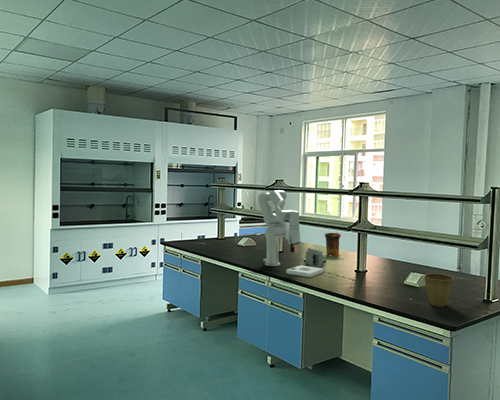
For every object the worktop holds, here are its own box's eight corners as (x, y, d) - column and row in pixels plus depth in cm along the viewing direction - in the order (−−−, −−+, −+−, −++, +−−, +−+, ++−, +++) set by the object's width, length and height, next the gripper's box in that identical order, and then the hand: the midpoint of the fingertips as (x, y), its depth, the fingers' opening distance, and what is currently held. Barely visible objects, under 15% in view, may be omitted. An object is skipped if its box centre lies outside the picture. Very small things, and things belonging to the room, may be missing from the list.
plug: (289, 252, 315) (289, 243, 315) (293, 251, 319) (293, 243, 319) (295, 253, 312) (295, 244, 312) (299, 252, 316) (298, 243, 316)
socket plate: (286, 273, 313) (286, 268, 313) (300, 269, 328) (300, 264, 328) (309, 277, 300) (309, 272, 300) (323, 272, 316) (323, 267, 316)
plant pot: (418, 303, 239) (418, 275, 238) (434, 299, 247) (435, 272, 246) (441, 310, 226) (442, 281, 225) (458, 306, 234) (459, 277, 233)
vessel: (334, 257, 376) (334, 234, 375) (321, 255, 387) (321, 233, 386) (344, 255, 385) (343, 233, 385) (331, 253, 396) (331, 232, 396)
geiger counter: (304, 247, 347) (323, 252, 325) (310, 246, 350) (329, 251, 327) (304, 264, 348) (323, 270, 325) (310, 263, 350) (329, 269, 328)
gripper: (296, 226, 324) (296, 249, 324) (283, 228, 311) (283, 252, 311) (304, 226, 319) (304, 250, 320) (291, 228, 306) (291, 253, 307)
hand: (294, 251), depth 315 cm, fingers closed on plug, 5 cm apart
